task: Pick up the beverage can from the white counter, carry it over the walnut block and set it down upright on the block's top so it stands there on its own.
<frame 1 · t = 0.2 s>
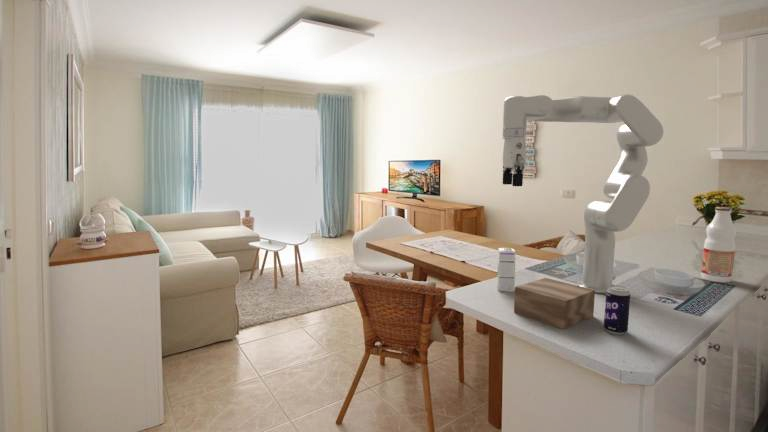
hand: (512, 185, 144), 37 cm above the countertop, tool pointing down, fingers open, 9 cm apart
beverage can: (615, 332, 113), on the countertop
fruit juice: (715, 280, 162), on the countertop
walnut block: (553, 314, 126), on the countertop
syrup box: (505, 289, 150), on the countertop
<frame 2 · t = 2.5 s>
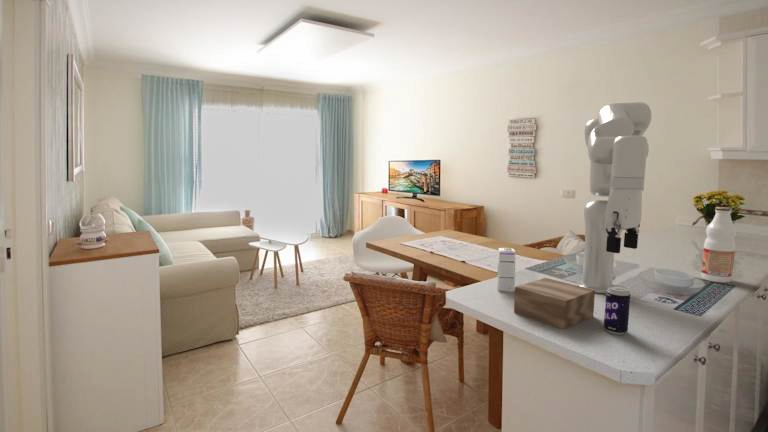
hand: (621, 250, 110), 22 cm above the countertop, tool pointing down, fingers open, 9 cm apart
nothing on the countertop moved.
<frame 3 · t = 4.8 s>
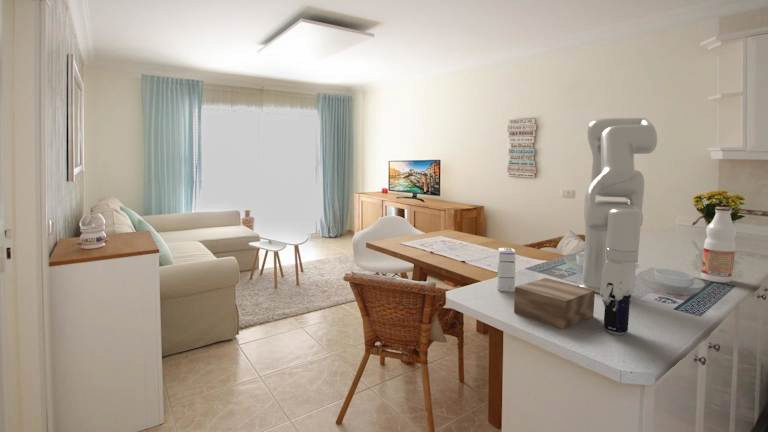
hand: (616, 320, 113), 3 cm above the countertop, tool pointing down, fingers closed on beverage can, 5 cm apart
beverage can: (615, 332, 113), on the countertop, touching gripper
everything else where it was.
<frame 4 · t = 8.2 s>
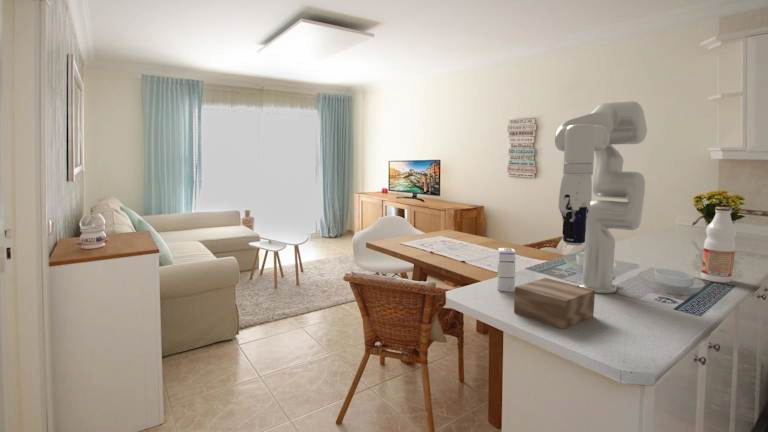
hand: (574, 233, 119), 25 cm above the countertop, tool pointing down, fingers closed on beverage can, 5 cm apart
beverage can: (573, 244, 119), point 22 cm above the countertop, touching gripper
everything else where it was.
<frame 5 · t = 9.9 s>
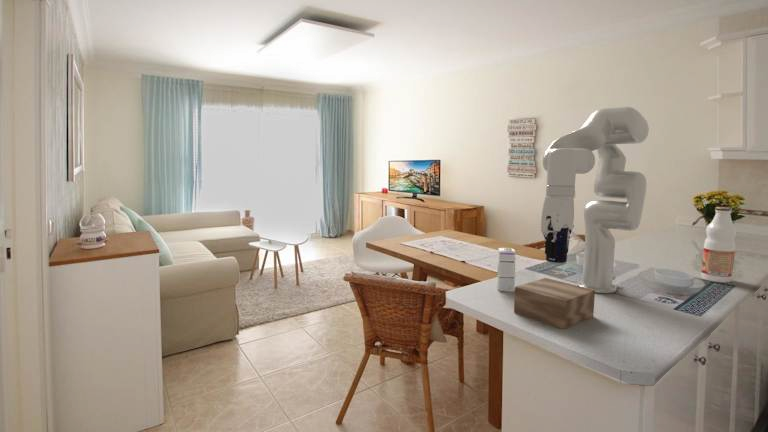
hand: (556, 253, 123), 19 cm above the countertop, tool pointing down, fingers closed on beverage can, 5 cm apart
beverage can: (555, 263, 123), point 16 cm above the countertop, touching gripper
everything else where it was.
when the fingers open (12 cm above the countertop, at t = 11.5 s): beverage can drops 1 cm, resting on walnut block.
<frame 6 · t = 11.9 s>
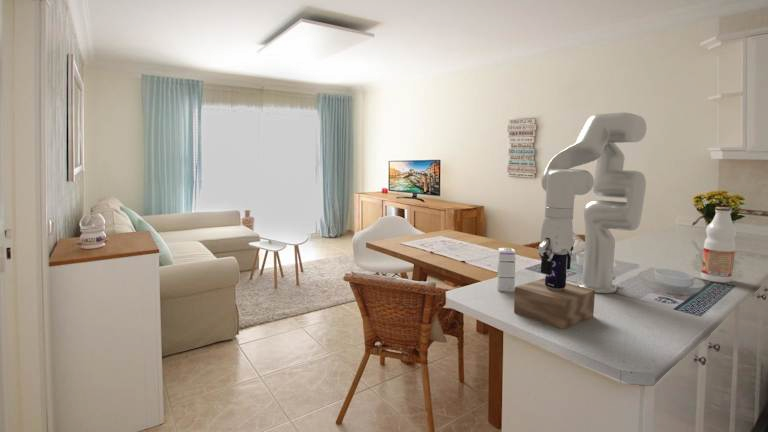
hand: (555, 271, 124), 13 cm above the countertop, tool pointing down, fingers open, 9 cm apart
beverage can: (554, 288, 125), point 8 cm above the countertop, touching walnut block
everything else where it was.
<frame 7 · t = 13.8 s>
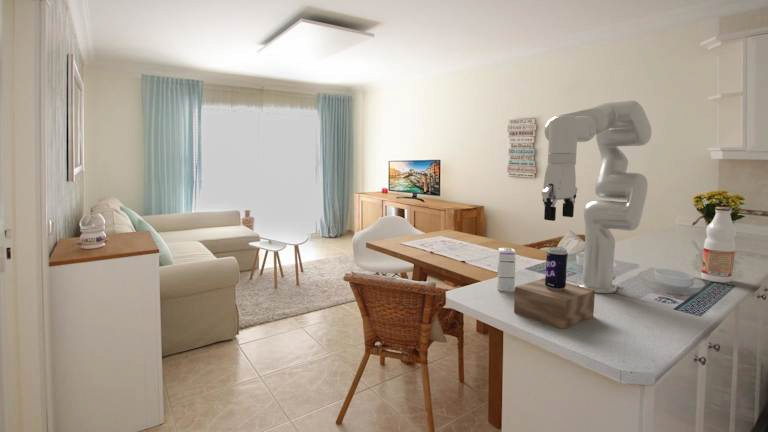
hand: (558, 218, 124), 29 cm above the countertop, tool pointing down, fingers open, 9 cm apart
nothing on the countertop moved.
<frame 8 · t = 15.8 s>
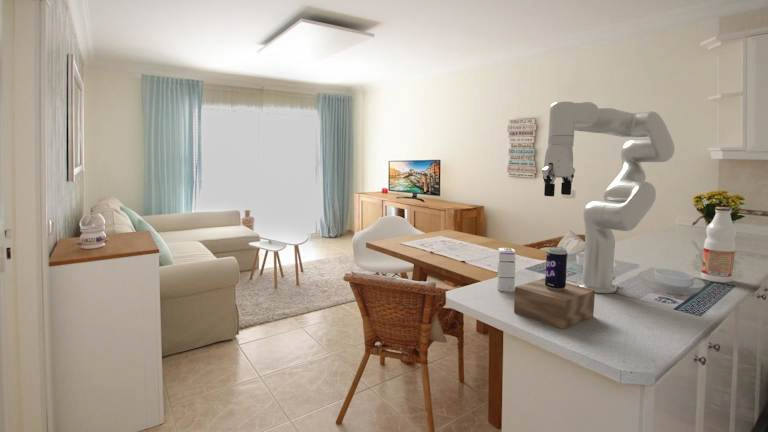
hand: (557, 195, 136), 34 cm above the countertop, tool pointing down, fingers open, 9 cm apart
nothing on the countertop moved.
at the end: beverage can inside the target area on the walnut block (0.3 cm from its centre), point 7.8 cm above the walnut block's base; beverage can tilted 0°; the gripper is holding nothing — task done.
